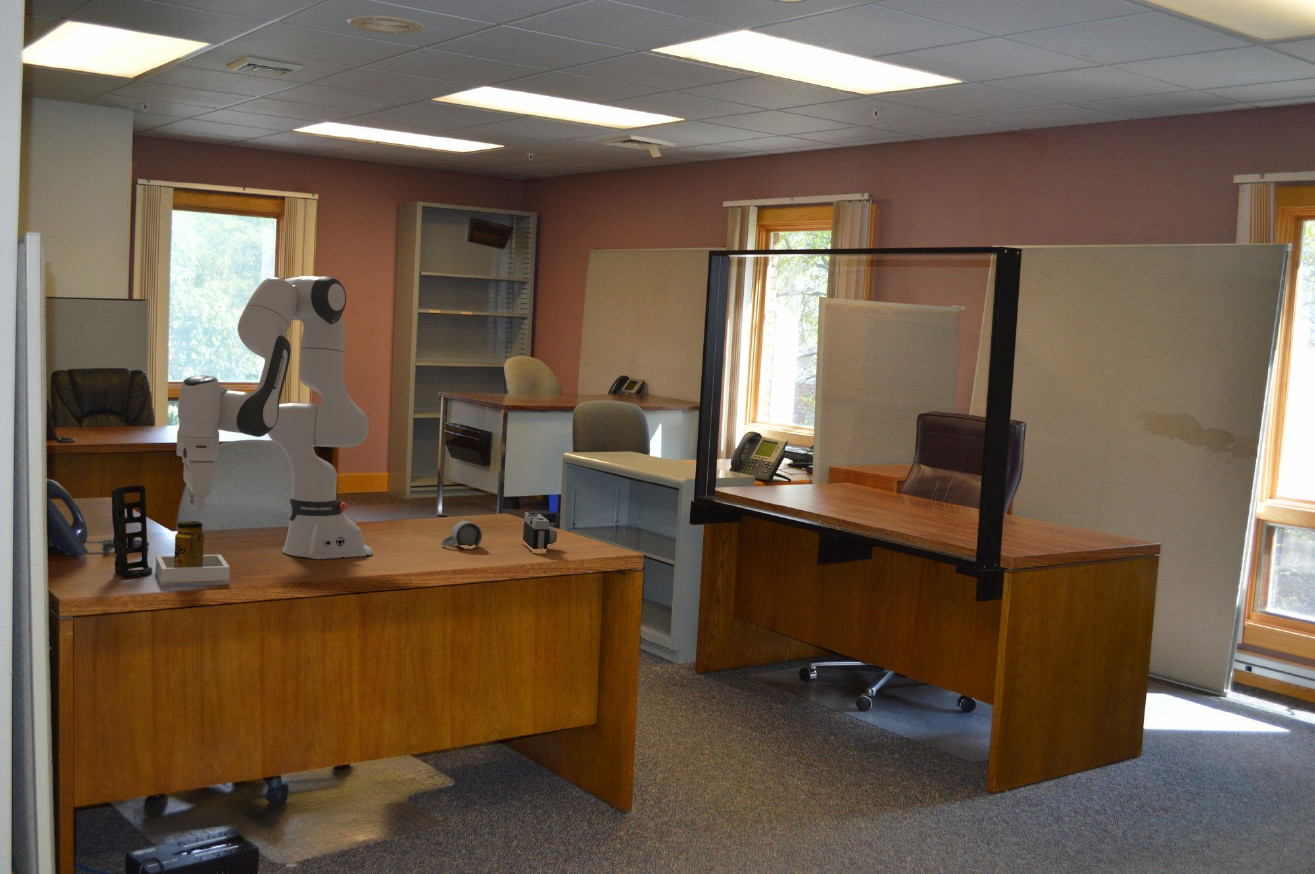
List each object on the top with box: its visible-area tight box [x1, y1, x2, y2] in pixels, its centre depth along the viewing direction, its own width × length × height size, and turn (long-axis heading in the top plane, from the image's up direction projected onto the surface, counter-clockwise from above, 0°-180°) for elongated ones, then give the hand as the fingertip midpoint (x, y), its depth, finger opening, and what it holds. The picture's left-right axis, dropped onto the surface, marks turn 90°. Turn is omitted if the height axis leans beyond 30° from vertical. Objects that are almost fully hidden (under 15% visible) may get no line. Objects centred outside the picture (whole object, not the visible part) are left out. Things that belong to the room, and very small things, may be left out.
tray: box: [155, 554, 231, 588], centre depth 257 cm, size 14×14×4 cm
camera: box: [522, 511, 558, 550], centre depth 323 cm, size 14×8×10 cm, turn 19°
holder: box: [110, 484, 153, 580], centre depth 257 cm, size 11×8×20 cm
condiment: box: [173, 520, 205, 568], centre depth 257 cm, size 7×8×12 cm
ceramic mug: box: [440, 520, 483, 548], centre depth 318 cm, size 11×8×8 cm
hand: (195, 508), depth 256 cm, fingers open, 8 cm apart
